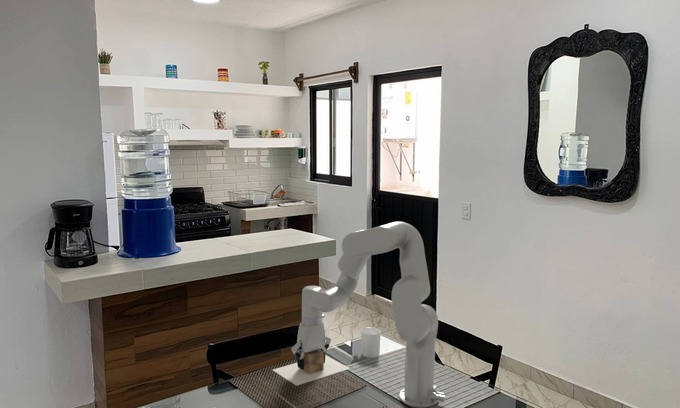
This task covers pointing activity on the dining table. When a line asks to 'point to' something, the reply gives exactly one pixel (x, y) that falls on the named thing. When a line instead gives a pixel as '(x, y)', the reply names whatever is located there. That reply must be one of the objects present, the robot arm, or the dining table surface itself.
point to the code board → (300, 376)
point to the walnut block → (313, 361)
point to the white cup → (370, 342)
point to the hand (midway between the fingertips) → (311, 364)
